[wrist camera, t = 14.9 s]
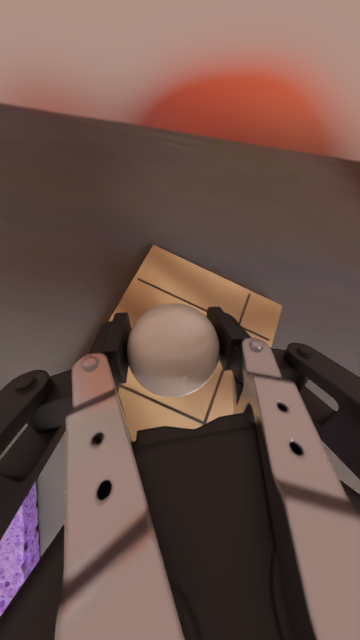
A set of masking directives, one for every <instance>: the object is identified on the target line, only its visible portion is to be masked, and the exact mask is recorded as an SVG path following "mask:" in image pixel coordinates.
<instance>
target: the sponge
mask: <svg viewBox="0 0 360 640" xmlns="http://www.w3.org/2000/svg"><path fill="white" fill-rule="evenodd" d="M36 502H37V493H36V481H35V483H34V485H33V486H32V488H31V490H30V491H29V493H28V495H27V497H26V498H25V500H24V502H23V503H22V505H21V507H20V508H19V510H18V512H17V514H16V515H15V517H14V519H13V520H12V522H11V524H10V525H9V527H8V529H7V530H6V532H5V534H4V536H3V537H2V539H1V541H0V616H1V615H2V613H3V612H4V610H5V609H6V607H7V606H8V605H9V603H10V602H11V600H12V599H13V597H14V596H15V594H16V593H17V592H18V590H19V589H20V587H21V586H22V584H23V583H24V581H25V580H26V579H27V577H28V576H29V574H30V573H31V571H32V570H33V568H34V567H35V566H36V564H37V563H38V561H39V560H40V554H39V544H38V541H39V533H38V531H37V530H36V526H37V525H38V521H37V518H38V509H37V507H36Z"/></svg>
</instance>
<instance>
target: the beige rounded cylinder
mask: <svg viewBox="0 0 360 640" xmlns="http://www.w3.org/2000/svg"><path fill="white" fill-rule="evenodd" d="M126 355H127V361H128V365H129V368H130V371H131V373H132V374H133V376H134V378H135V379H136V380H137V382H138V383H139V384H140V385H141V386H142V387H144V388H145V389H146V390H148V391H149V392H151V393H153V394H155V395H158V396H161V397H166V398H180V397H185V396H188V395H191V394H193V393H195V392H197V391H198V390H200V389H201V388H202V387H204V386H205V385H206V384H207V383H208V381H209V380H210V379H211V378H212V376H213V374H214V372H215V370H216V368H217V365H218V362H219V357H220V342H219V338H218V335H217V332H216V330H215V328H214V326H213V324H212V323H211V321H210V320H209V319H208V318H207V317H206V316H205V315H204V314H203V313H202V312H200V311H199V310H198V309H196V308H194V307H192V306H189V305H186V304H182V303H165V304H161V305H158V306H155V307H153V308H151V309H149V310H148V311H146V312H145V313H144V314H143V315H141V316H140V317H139V319H138V320H137V321H136V322H135V324H134V325H133V327H132V329H131V331H130V333H129V336H128V340H127V346H126Z"/></svg>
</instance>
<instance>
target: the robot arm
mask: <svg viewBox="0 0 360 640" xmlns="http://www.w3.org/2000/svg"><path fill="white" fill-rule="evenodd" d="M206 317H207V318H208V319H209V320H210V321H211V323H212V324H213V326H214V328H215V330H216V332H217V335H218V338H219V342H220V357H219V361H220V363H221V365H222V367H223V369H224V371H228V370H232V372H233V375H232V392H233V407H234V411H233V414H232V415H226V416H220V417H218V418H216V419H214V420H212V421H210V422H208V423H206V424H204V425H202V426H201V427H199V428H196V429H187V428H179V427H170V426H162V427H156V428H150V429H144V430H138V431H137V435H136V440H135V441H133V440H132V436H131V433H130V430H129V427H128V423H127V420H126V416H125V413H124V409H123V406H122V403H121V399H120V396H119V393H118V391H119V386H120V384H123V383H126V381H127V374H128V367H129V365H128V361H127V355H126V346H127V340H128V336H129V333H130V331H131V325H130V319H129V315H128V312H124V313H115V315H114V317H113V320H112V321H107V322H106V323H104V324H103V325H102V326H101V328H100V330H99V333H98V334H97V338H96V339H95V341H94V343H93V345H92V347H91V350H90V352H89V354H88V355H85V356H83V357H81V358H80V359H78V360H77V361H76V362H75V363H74V365H73V367H72V369H71V370H68V371H66V372H63V373H60V374H57V375H54V376H51V377H50V376H49V374H48V373H47V372H46V371H44V370H34V371H30V372H27V373H25V374H22V375H20V376H18V377H17V378H15V379H14V380H12V381H11V382H10V383H8V384H7V385H6V386H5V387H4V388H3V389H2V390H1V391H0V455H1V454H2V452H3V451H4V450H5V448H6V447H7V446H8V445H9V444H10V442H11V441H12V440H13V439H14V437H15V436H16V435H17V434H18V432H19V431H20V430H21V429H22V427H23V426H24V425H25V424H26V423H27V424H28V426H27V428H26V429H25V430H24V431H23V433H22V434H21V435H20V436H19V438H18V439H17V440H16V442H15V443H14V444H13V445H12V447H11V448H10V449H9V450H8V452H7V453H6V454H5V455H4V457H3V458H2V459H1V461H0V541H1V539H2V537H3V536H4V534H5V532H6V530H7V529H8V527H9V525H10V524H11V522H12V520H13V519H14V517H15V515H16V514H17V512H18V510H19V508H20V507H21V505H22V503H23V502H24V500H25V498H26V497H27V495H28V493H29V491H30V490H31V488H32V486H33V485H34V483H35V481H36V480H37V478H38V476H39V475H40V473H41V471H42V469H43V468H44V466H45V464H46V463H47V461H48V459H49V458H50V456H51V454H52V453H53V451H54V449H55V447H56V446H57V444H58V442H59V441H60V439H61V437H62V436H63V434H64V432H65V431H66V435H65V518H64V525H63V527H62V528H61V529H60V531H59V532H58V534H57V535H56V537H55V538H54V540H53V541H52V542H51V544H50V545H49V547H48V548H47V550H46V551H45V553H44V554H43V555H42V557H41V558H40V560H39V561H38V563H37V564H36V566H35V567H34V568H33V570H32V571H31V573H30V574H29V576H28V577H27V579H26V580H25V581H24V583H23V584H22V586H21V587H20V589H19V590H18V592H17V593H16V594H15V596H14V597H13V599H12V600H11V602H10V603H9V605H8V606H7V607H6V609H5V610H4V612H3V613H2V615H1V616H0V640H360V495H359V494H358V493H357V492H355V491H354V490H353V489H351V488H350V487H349V486H347V485H346V484H345V483H343V482H342V481H341V480H339V478H338V476H337V474H336V472H335V469H334V467H333V465H332V463H331V461H330V458H329V456H328V454H327V452H326V450H325V448H324V445H323V443H322V441H323V442H324V443H325V444H326V445H327V446H328V447H329V448H330V449H331V450H332V451H333V452H334V453H335V454H336V455H337V456H338V458H339V459H340V460H341V461H342V462H343V463H344V464H345V465H346V466H347V467H348V468H349V469H350V470H351V471H352V472H353V473H354V474H355V475H356V476H357V477H358V478H359V479H360V377H358V376H356V375H355V374H353V373H352V372H350V371H348V370H347V369H345V368H344V367H342V366H340V365H339V364H337V363H336V362H334V361H332V360H331V359H329V358H328V357H326V356H324V355H323V354H321V353H320V352H318V351H316V350H315V349H313V348H311V347H309V346H307V345H304V344H300V343H291V344H289V345H288V347H287V349H286V350H280V349H272V348H271V347H270V346H269V345H268V344H267V343H266V342H264V341H263V340H260V339H257V338H252V337H251V336H250V335H249V334H248V333H247V332H246V330H245V329H244V328H243V327H242V326H241V325H240V324H239V322H237V320H236V319H235V318H234V317H233V316H232V315H230V314H228V313H225V312H224V311H223V310H222V309H221V308H220V307H219V306H218V307H208V309H207V315H206ZM309 379H310V380H311V381H312V382H314V383H315V384H316V385H318V386H319V387H320V388H321V389H323V390H324V391H325V392H326V393H328V394H329V395H330V396H331V397H333V398H334V399H335V400H336V402H337V403H338V406H339V409H338V411H337V412H336V411H334V410H333V409H331V408H330V407H329V406H328V405H327V404H325V403H324V402H323V401H322V400H321V399H319V398H318V397H317V396H316V395H315V394H314V393H312V392H311V391H310V390H309V389H308V388H306V387H305V384H306V383H307V381H308V380H309ZM321 440H322V441H321Z"/></svg>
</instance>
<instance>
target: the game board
mask: <svg viewBox="0 0 360 640" xmlns="http://www.w3.org/2000/svg"><path fill="white" fill-rule="evenodd" d="M165 303H182V304H186V305H189V306H192V307H194V308H196V309H198V310H199V311H200V312H202V313H203V314H204V315H205V316H206V315H207V309H208V307H218V306H219V307H220V308H221V309H222V310H223V311H224V312H225V313H228V314H230V315H232V316H233V317H234V318H235V319H236V320H237V322H239V324H240V325H241V326H242V327H243V328H244V329H245V330H246V332H247V333H248V334H249V335H250V336H251V337H252V338H257V339H260V340H263V341H264V342H266V343H267V344H268V345H269V346H270V347H271V346H272V342H273V339H274V335H275V331H276V328H277V324H278V321H279V317H280V314H281V310H282V305H280V304H278V303H275V302H273V301H271V300H269V299H267V298H265V297H263V296H261V295H259V294H256V293H254V292H252V291H250V290H248V289H246V288H244V287H242V286H240V285H237V284H235V283H233V282H231V281H229V280H227V279H225V278H223V277H221V276H218V275H216V274H214V273H212V272H210V271H208V270H206V269H204V268H201V267H199V266H197V265H195V264H193V263H191V262H189V261H187V260H185V259H182V258H180V257H178V256H176V255H174V254H172V253H170V252H168V251H166V250H163V249H161V248H159V247H157V246H155V245H153V246H152V248H151V250H150V251H149V253H148V255H147V256H146V258H145V260H144V261H143V263H142V265H141V267H140V268H139V270H138V272H137V273H136V275H135V277H134V278H133V280H132V282H131V284H130V285H129V287H128V289H127V290H126V292H125V294H124V295H123V297H122V299H121V301H120V302H119V304H118V306H117V307H116V309H115V311H114V312H113V314H112V316H111V318H110V319H109V321H112V320H113V317H114V315H115V313H124V312H128V315H129V319H130V325H131V329H132V327H133V325H134V324H135V322H136V321H137V320H138V319H139V317H140V316H141V315H143V314H144V313H145V312H146V311H148V310H149V309H151V308H153V307H155V306H158V305H161V304H165ZM232 375H233V372H232V370H228V371H224V369H223V367H222V365H221V363H220V361H219V362H218V365H217V368H216V370H215V372H214V374H213V376H212V378H211V379H210V380H209V381H208V383H207V384H206V385H205V386H204V387H202V388H201V389H200V390H198V391H197V392H195V393H193V394H191V395H188V396H185V397H180V398H166V397H161V396H158V395H155V394H153V393H151V392H149V391H148V390H146V389H145V388H144V387H142V386H141V385H140V384H139V383H138V382H137V380H136V379H135V378H134V376H133V374H132V373H131V371H130V368H129V367H128V374H127V381H126V383H123V384H120V386H119V391H118V393H119V396H120V399H121V403H122V406H123V409H124V413H125V416H126V420H127V423H128V427H129V430H130V433H131V436H132V440H133V441H135V440H136V435H137V431H138V430H144V429H150V428H156V427H162V426H170V427H179V428H187V429H196V428H199V427H201V426H202V425H204V424H206V423H208V422H210V421H212V420H214V419H216V418H218V417H220V416H226V415H232V414H233V411H234V407H233V392H232Z"/></svg>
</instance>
